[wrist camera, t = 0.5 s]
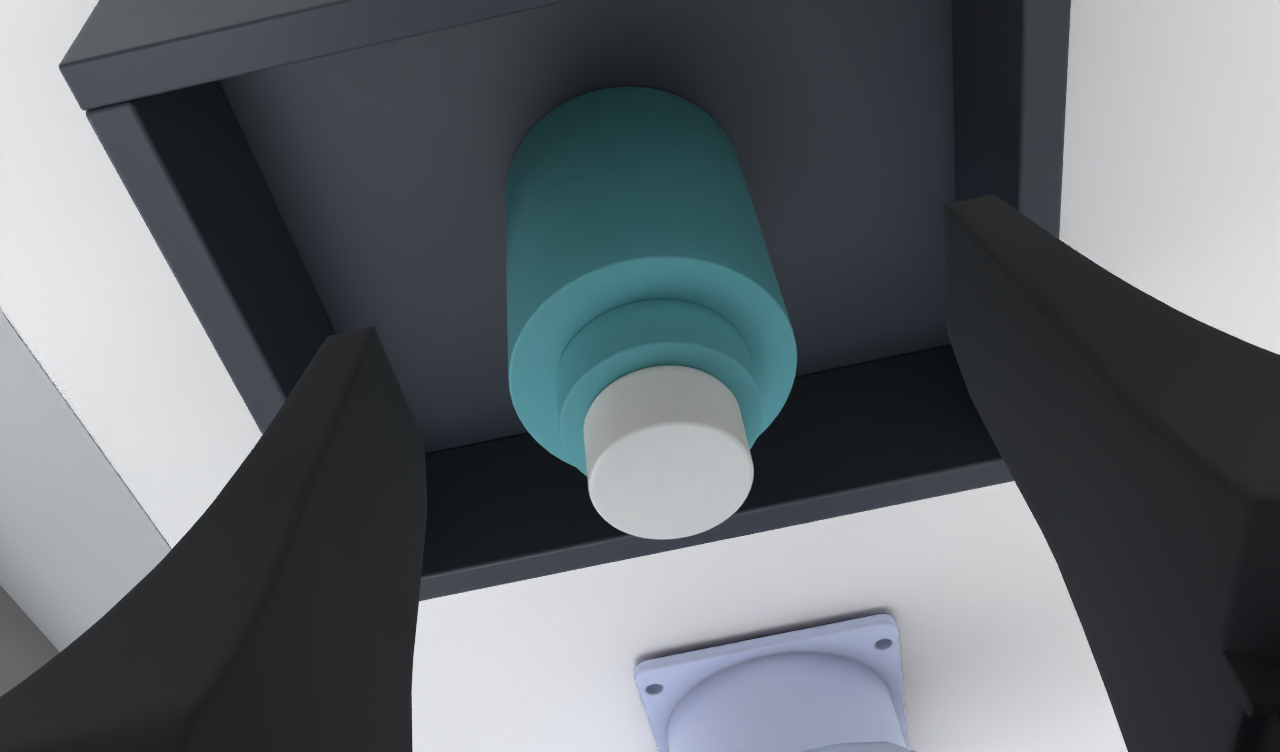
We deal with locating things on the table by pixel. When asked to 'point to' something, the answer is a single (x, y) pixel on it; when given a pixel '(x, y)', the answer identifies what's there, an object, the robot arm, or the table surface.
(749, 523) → the bin
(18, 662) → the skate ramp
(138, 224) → the table surface
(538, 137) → the bottle
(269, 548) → the robot arm
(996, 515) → the table surface
